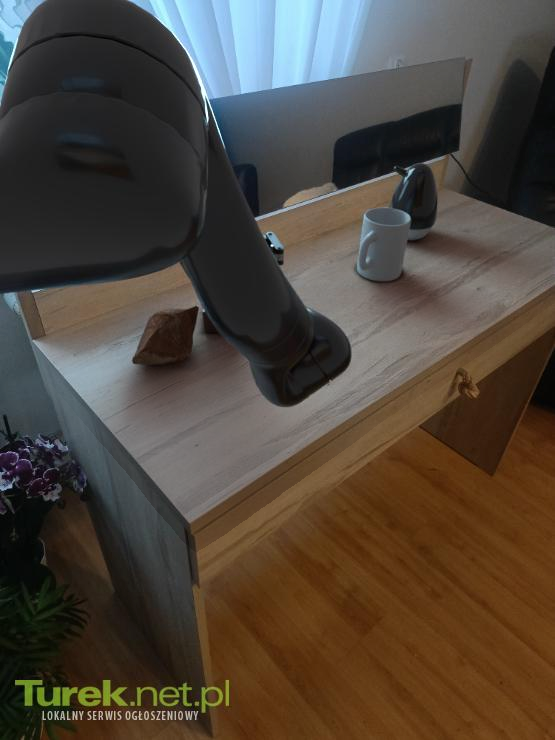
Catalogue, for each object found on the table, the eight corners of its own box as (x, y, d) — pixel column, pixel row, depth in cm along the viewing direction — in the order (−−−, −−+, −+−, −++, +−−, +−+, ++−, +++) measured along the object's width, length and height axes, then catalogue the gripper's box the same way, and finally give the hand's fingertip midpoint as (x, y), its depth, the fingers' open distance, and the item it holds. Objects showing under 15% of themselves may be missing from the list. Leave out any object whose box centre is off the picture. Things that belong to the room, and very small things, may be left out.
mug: (371, 256, 100) (378, 203, 93) (408, 269, 96) (420, 215, 89) (338, 278, 93) (344, 223, 86) (377, 294, 89) (387, 237, 82)
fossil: (193, 303, 79) (181, 276, 70) (223, 342, 78) (216, 320, 68) (126, 350, 77) (105, 328, 68) (157, 391, 76) (139, 375, 66)
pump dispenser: (384, 223, 113) (395, 154, 103) (430, 227, 112) (446, 157, 102) (382, 242, 105) (394, 169, 96) (432, 247, 104) (449, 174, 94)
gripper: (304, 249, 63) (262, 203, 74) (194, 267, 59) (168, 215, 70) (301, 300, 68) (262, 249, 79) (199, 319, 64) (174, 262, 75)
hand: (218, 233), depth 75 cm, fingers open, 8 cm apart
